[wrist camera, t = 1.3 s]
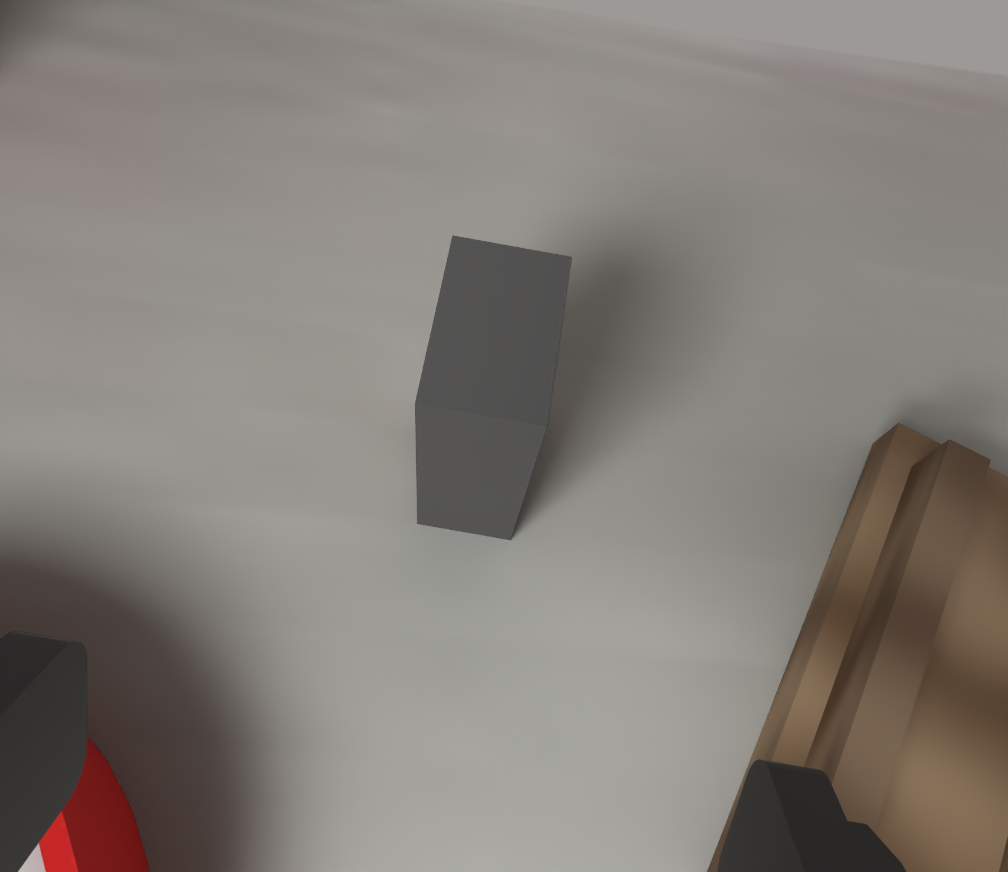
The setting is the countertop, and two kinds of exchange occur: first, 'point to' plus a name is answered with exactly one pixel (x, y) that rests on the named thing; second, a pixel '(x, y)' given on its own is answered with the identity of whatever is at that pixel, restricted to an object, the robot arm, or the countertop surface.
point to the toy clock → (92, 827)
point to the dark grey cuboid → (487, 384)
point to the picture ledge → (909, 660)
